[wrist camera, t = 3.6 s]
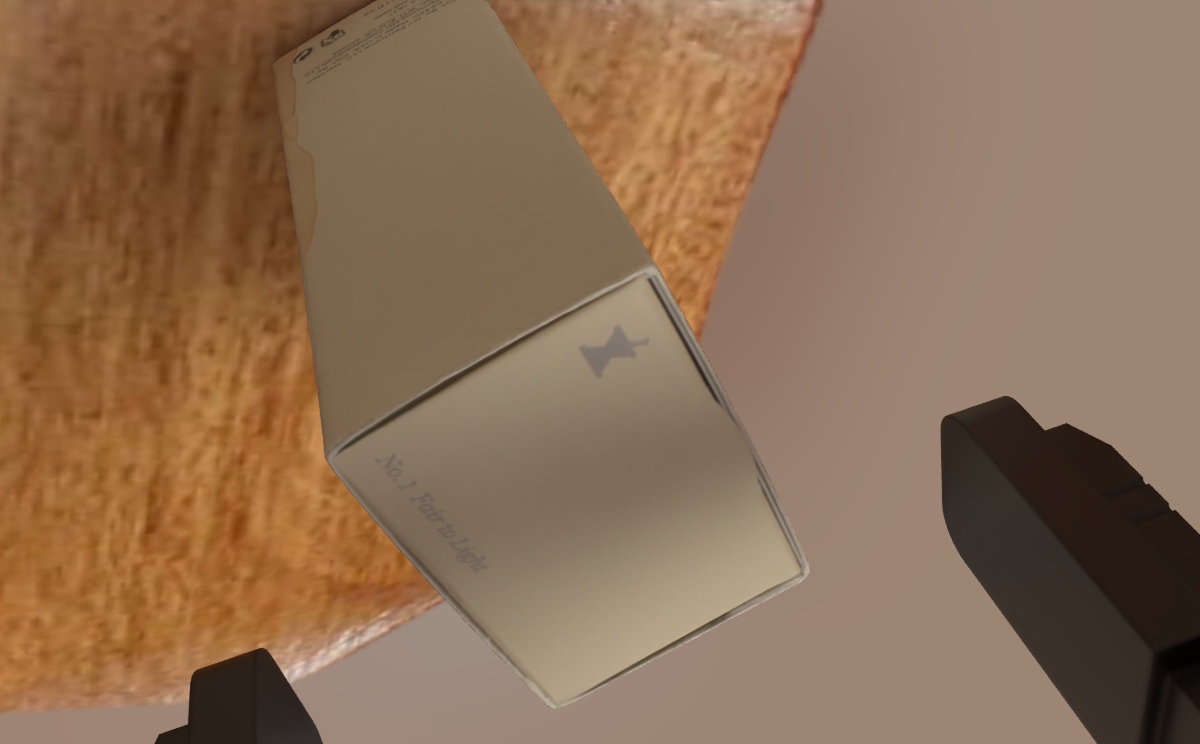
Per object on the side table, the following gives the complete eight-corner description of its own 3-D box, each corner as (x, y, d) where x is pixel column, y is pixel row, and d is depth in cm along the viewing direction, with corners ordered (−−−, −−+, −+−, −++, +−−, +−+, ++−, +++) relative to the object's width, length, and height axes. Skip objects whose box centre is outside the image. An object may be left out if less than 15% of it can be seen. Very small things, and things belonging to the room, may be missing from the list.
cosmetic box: (265, 58, 21) (286, 446, 12) (466, -56, 21) (654, 245, 12) (428, 293, 25) (544, 729, 16) (599, 200, 25) (823, 583, 15)
